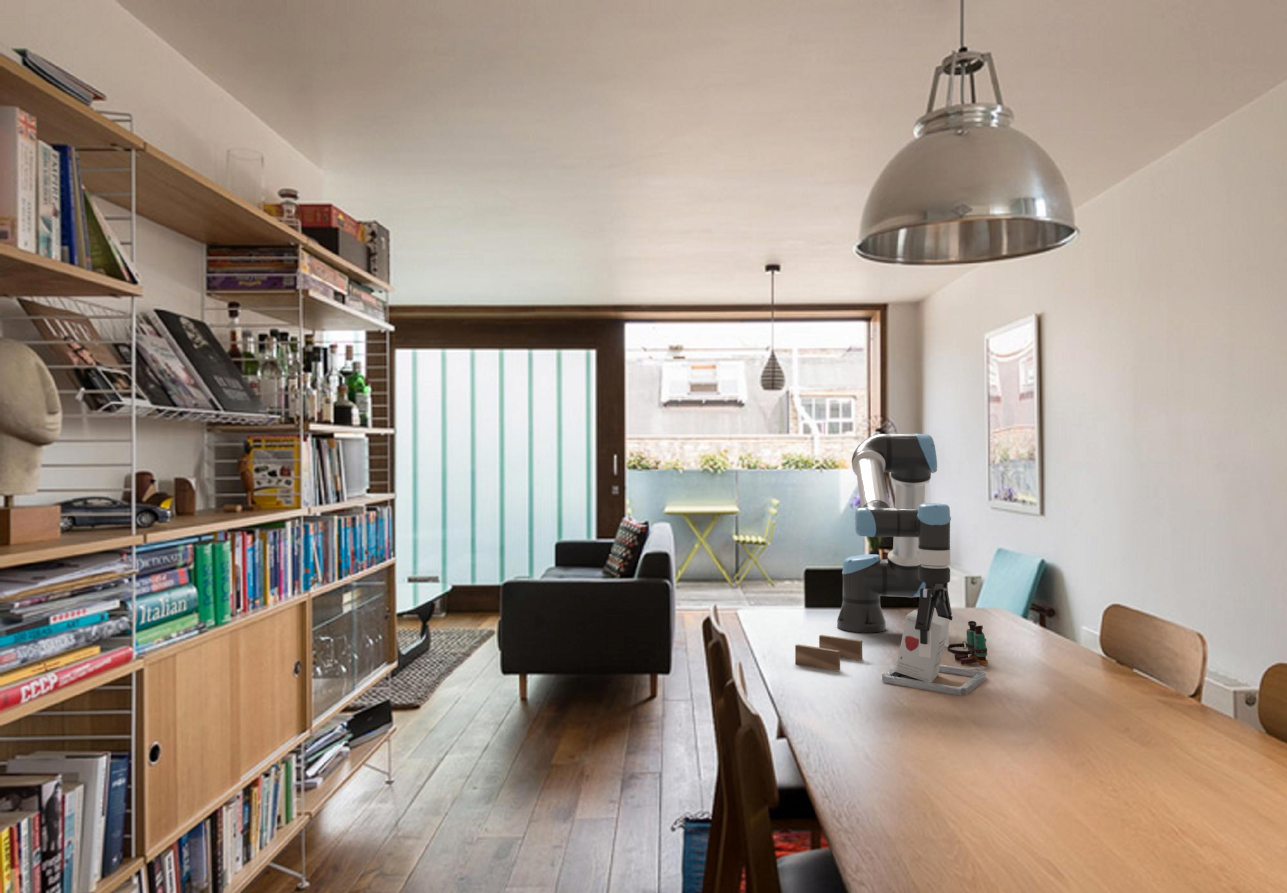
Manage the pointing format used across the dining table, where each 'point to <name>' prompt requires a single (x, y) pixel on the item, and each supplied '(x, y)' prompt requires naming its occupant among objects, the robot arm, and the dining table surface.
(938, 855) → the dining table surface
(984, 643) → the binoculars
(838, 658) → the wooden blocks
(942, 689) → the gray rectangular frame
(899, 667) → the supplement box
